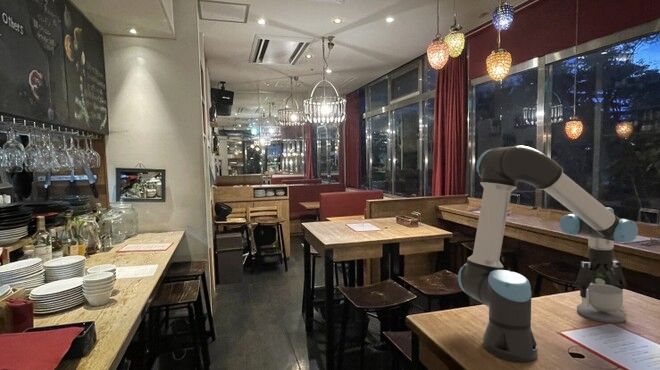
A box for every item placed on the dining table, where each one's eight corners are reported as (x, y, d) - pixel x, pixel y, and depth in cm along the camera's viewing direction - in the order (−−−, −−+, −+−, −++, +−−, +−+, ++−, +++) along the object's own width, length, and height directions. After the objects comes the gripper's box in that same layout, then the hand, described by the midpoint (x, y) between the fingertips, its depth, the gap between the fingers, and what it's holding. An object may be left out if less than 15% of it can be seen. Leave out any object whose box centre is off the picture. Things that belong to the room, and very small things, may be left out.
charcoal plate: (596, 324, 122) (596, 320, 122) (567, 307, 137) (567, 304, 136) (636, 322, 122) (637, 318, 122) (603, 306, 137) (603, 303, 137)
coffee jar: (598, 295, 149) (599, 253, 149) (620, 300, 142) (621, 256, 142) (587, 299, 145) (587, 256, 144) (609, 305, 138) (609, 260, 137)
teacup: (630, 315, 121) (630, 293, 121) (595, 314, 123) (595, 292, 123) (606, 301, 135) (606, 281, 135) (576, 299, 137) (576, 280, 137)
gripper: (577, 251, 124) (577, 310, 125) (640, 249, 125) (639, 308, 126) (563, 246, 132) (563, 302, 133) (622, 245, 132) (621, 300, 133)
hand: (600, 305), depth 129 cm, fingers closed on teacup, 11 cm apart
